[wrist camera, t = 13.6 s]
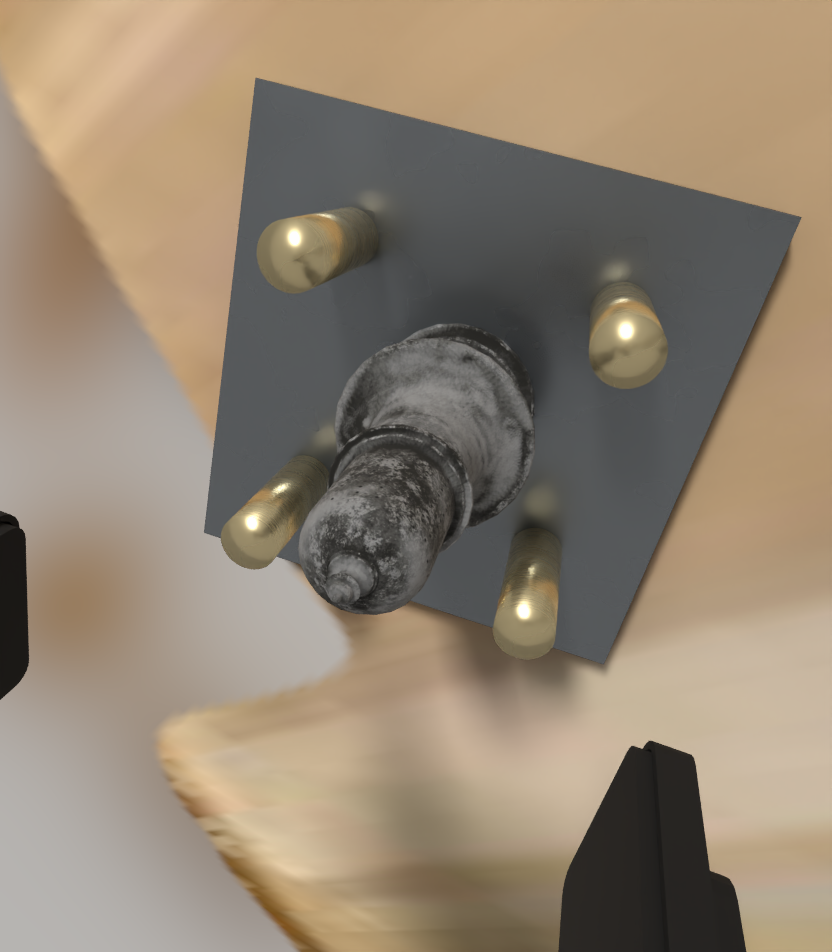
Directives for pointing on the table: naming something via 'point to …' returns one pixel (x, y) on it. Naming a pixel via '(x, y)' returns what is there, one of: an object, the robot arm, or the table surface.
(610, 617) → the standoff chassis
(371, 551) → the grey chess piece
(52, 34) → the table surface
